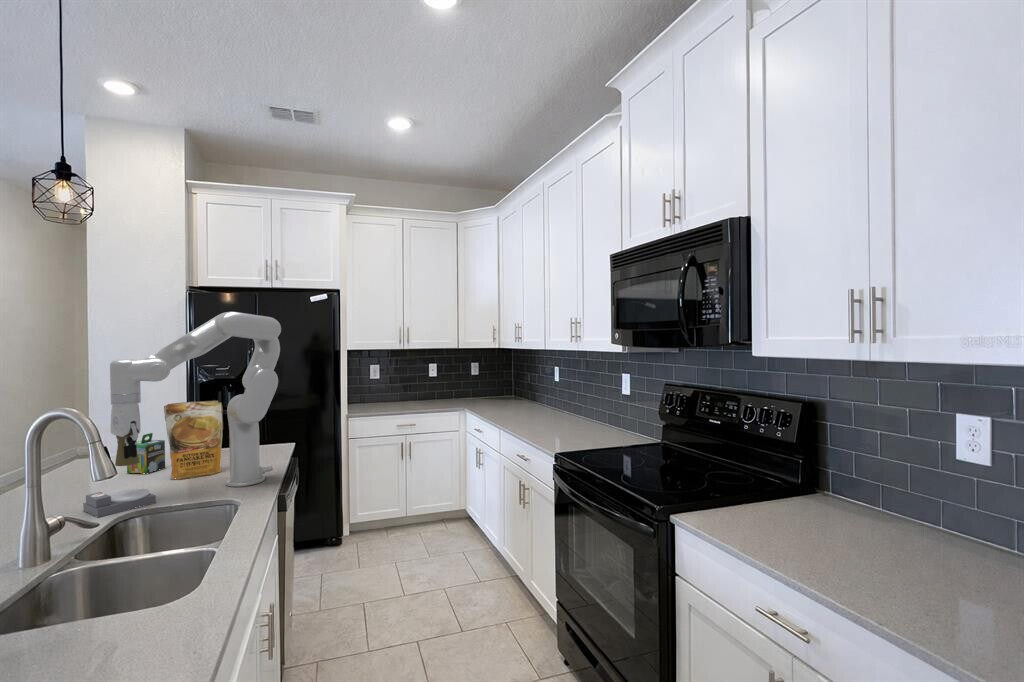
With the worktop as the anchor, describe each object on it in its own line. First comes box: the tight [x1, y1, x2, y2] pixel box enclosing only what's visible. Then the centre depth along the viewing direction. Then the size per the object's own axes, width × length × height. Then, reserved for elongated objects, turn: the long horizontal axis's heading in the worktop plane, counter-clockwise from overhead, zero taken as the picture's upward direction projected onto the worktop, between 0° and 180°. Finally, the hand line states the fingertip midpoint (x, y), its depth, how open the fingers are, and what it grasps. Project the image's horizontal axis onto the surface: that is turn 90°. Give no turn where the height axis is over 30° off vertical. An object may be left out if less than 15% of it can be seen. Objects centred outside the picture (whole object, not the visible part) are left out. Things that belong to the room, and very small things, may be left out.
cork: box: [114, 433, 139, 467], centre depth 159 cm, size 6×6×11 cm
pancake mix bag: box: [163, 399, 224, 480], centre depth 192 cm, size 7×19×28 cm, turn 126°
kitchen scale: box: [82, 488, 157, 518], centre depth 157 cm, size 15×11×5 cm
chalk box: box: [126, 432, 166, 475], centre depth 199 cm, size 9×9×15 cm
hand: (127, 456), depth 159 cm, fingers closed on cork, 3 cm apart
